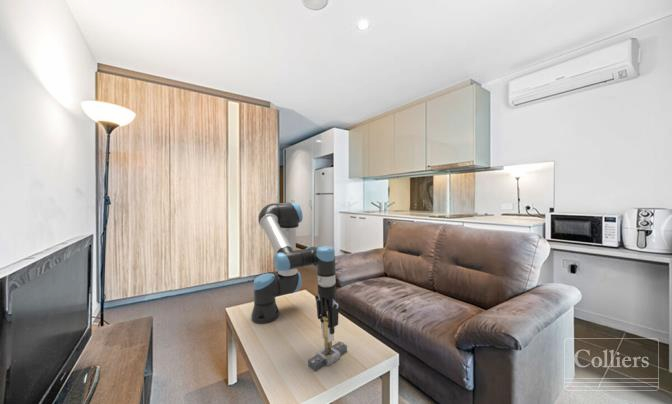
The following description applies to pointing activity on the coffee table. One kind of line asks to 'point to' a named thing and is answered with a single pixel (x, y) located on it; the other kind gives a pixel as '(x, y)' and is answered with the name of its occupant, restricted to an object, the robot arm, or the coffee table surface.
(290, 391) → the coffee table surface
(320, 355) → the chain joint
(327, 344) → the pin
